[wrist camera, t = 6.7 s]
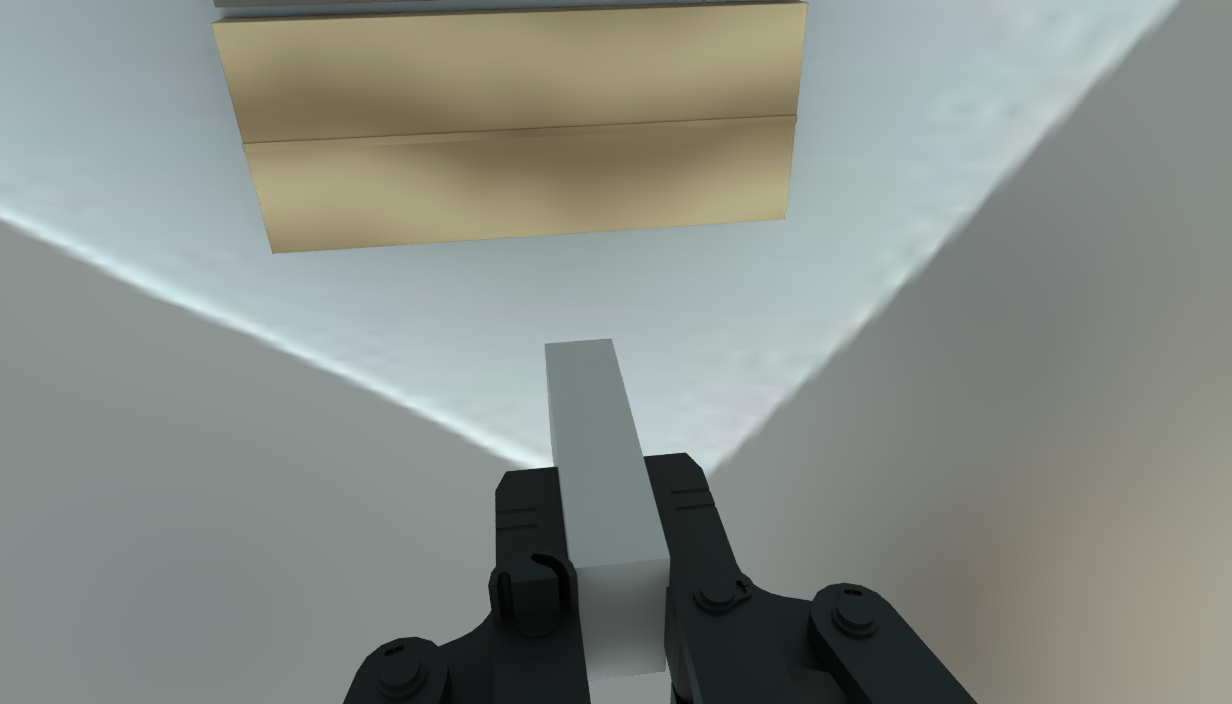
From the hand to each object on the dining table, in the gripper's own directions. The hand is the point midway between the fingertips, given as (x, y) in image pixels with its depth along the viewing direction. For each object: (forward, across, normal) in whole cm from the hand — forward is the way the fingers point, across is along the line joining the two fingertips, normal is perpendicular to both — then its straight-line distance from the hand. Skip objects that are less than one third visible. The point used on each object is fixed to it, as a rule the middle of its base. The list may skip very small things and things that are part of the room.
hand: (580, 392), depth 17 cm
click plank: (+15, 0, +2) cm, 15 cm away
